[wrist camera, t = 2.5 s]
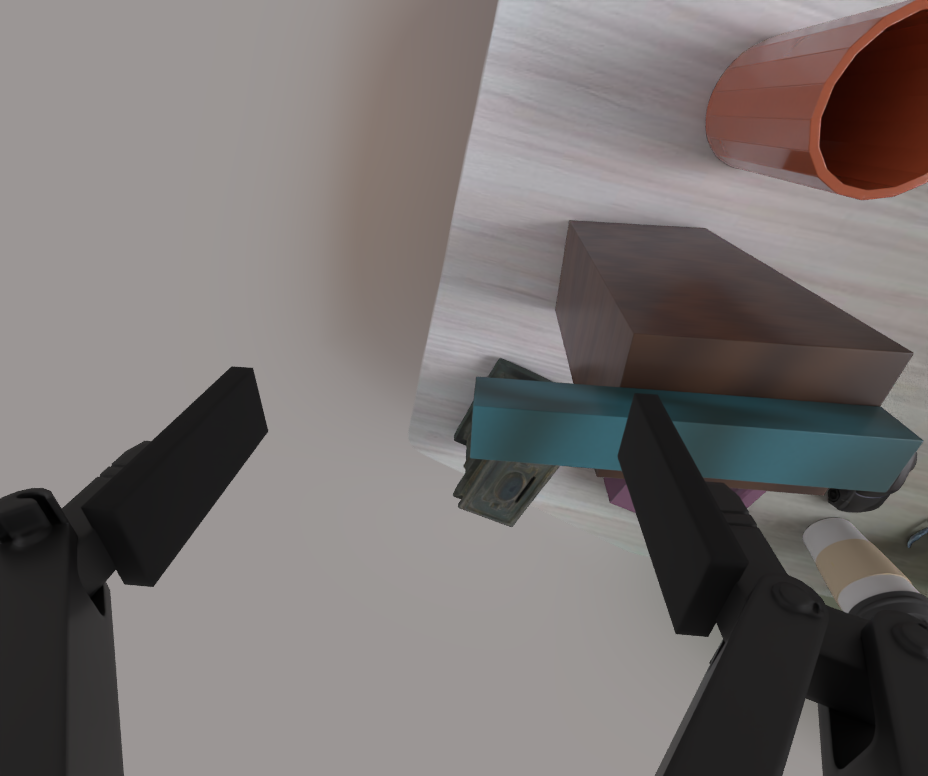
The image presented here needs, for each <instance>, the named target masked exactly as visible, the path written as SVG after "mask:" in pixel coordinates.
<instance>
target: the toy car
mask: <svg viewBox="0 0 928 776" xmlns="http://www.w3.org/2000/svg"><path fill="white" fill-rule="evenodd" d="M916 461H917V452H915V454H914V455H913V456H912V458H911V459H910V460H909V462H908V463H907V465H906V466H905V467H904V469H903V470H902V471H901V473H900V474H899V475H898V477H897V478H896V480H895V481H894V482H893V484H892V485H891V486H890V488H889V489H888V490H887V492H886V493H884V492H872V491H860V490H848V489H836V488H830V489H829V491H828V497H829V498H828V503H830V504H832V505H833V506H834V507H836V508H837V509H838V510H841V511H845V512H866V511H872V510H875V509H877V508H879V507H880V506H881V505H882V504H883V503H884V501H885V500H886V499H887V498H888V497H889V495H890V494H892V493H894V492H896V491H898V490H899V489H900V488H901V486H902V485H903V483H904V482H905V480H906V478H907V476H908V474H909V472H910V471H911V470H912V469H913V468H914V467H915V465H916ZM848 492H849V493H848ZM880 497H881V498H880Z"/></svg>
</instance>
